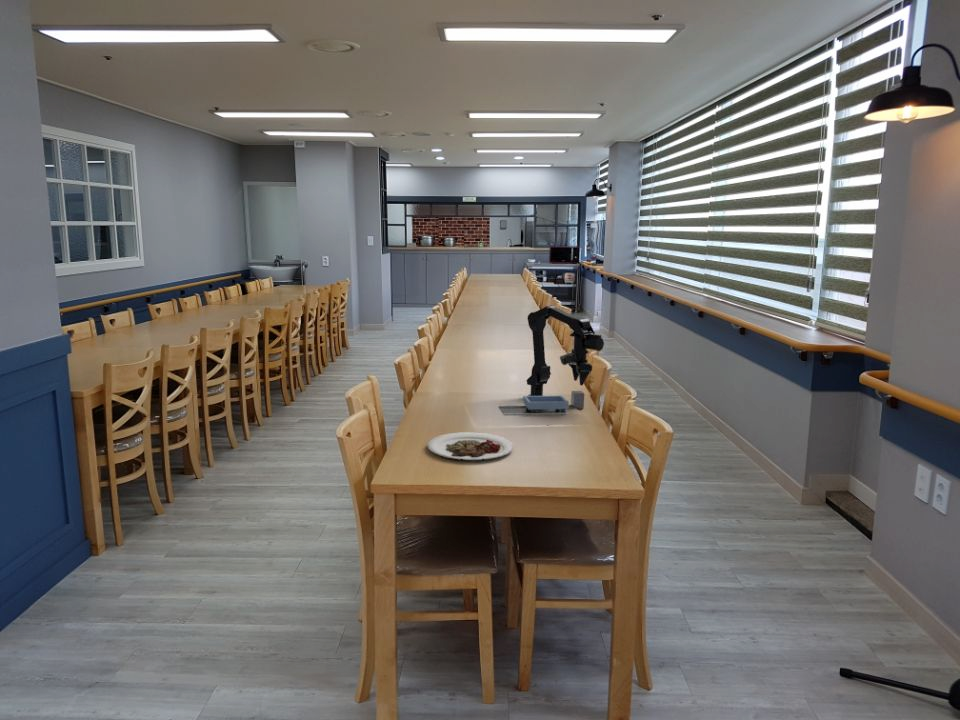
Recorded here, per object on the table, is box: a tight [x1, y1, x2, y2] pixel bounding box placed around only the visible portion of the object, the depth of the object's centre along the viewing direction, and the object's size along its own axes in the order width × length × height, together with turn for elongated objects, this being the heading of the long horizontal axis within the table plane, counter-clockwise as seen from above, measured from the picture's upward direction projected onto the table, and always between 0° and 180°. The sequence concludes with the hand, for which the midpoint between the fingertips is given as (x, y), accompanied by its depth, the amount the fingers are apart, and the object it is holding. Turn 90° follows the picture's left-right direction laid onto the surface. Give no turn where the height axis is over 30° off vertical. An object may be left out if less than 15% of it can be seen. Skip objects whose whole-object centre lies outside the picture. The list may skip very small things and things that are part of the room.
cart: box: [522, 395, 570, 413], centre depth 293 cm, size 11×17×5 cm, turn 98°
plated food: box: [427, 431, 514, 461], centre depth 242 cm, size 30×30×3 cm
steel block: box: [570, 390, 585, 410], centre depth 302 cm, size 4×4×7 cm
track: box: [498, 404, 569, 416], centre depth 292 cm, size 13×27×1 cm, turn 98°
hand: (578, 382), depth 300 cm, fingers open, 9 cm apart
